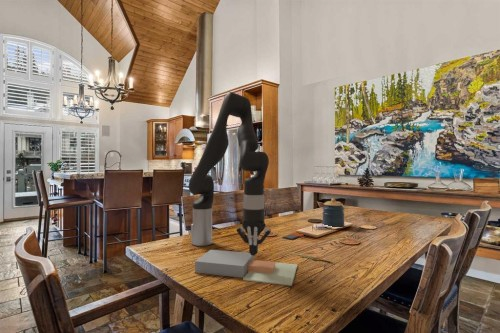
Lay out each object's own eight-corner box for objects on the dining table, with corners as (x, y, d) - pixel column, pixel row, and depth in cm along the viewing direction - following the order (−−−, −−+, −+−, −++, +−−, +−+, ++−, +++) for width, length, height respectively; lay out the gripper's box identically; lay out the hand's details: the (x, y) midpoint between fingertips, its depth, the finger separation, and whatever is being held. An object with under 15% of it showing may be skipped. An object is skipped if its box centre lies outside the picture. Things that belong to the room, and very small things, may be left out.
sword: (277, 252, 124) (277, 250, 124) (283, 250, 127) (283, 248, 127) (330, 265, 107) (330, 262, 107) (334, 262, 110) (334, 260, 110)
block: (247, 271, 99) (247, 265, 99) (251, 265, 105) (251, 259, 105) (272, 273, 97) (272, 267, 97) (275, 267, 103) (275, 262, 103)
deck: (195, 272, 99) (194, 261, 99) (210, 259, 113) (210, 249, 113) (243, 277, 95) (243, 266, 95) (253, 263, 108) (253, 253, 108)
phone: (307, 233, 152) (292, 239, 141) (307, 235, 152) (292, 241, 141) (297, 231, 156) (281, 236, 145) (297, 233, 156) (281, 239, 145)
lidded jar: (323, 229, 165) (323, 199, 165) (321, 224, 178) (321, 196, 178) (346, 230, 163) (346, 199, 163) (342, 225, 176) (342, 197, 175)
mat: (243, 280, 93) (243, 278, 93) (256, 261, 110) (256, 260, 110) (291, 285, 88) (291, 284, 88) (297, 265, 106) (297, 264, 106)
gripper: (233, 207, 99) (232, 256, 99) (269, 209, 95) (269, 260, 95) (239, 204, 106) (239, 250, 106) (273, 206, 102) (273, 253, 103)
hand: (253, 254), depth 101 cm, fingers closed
